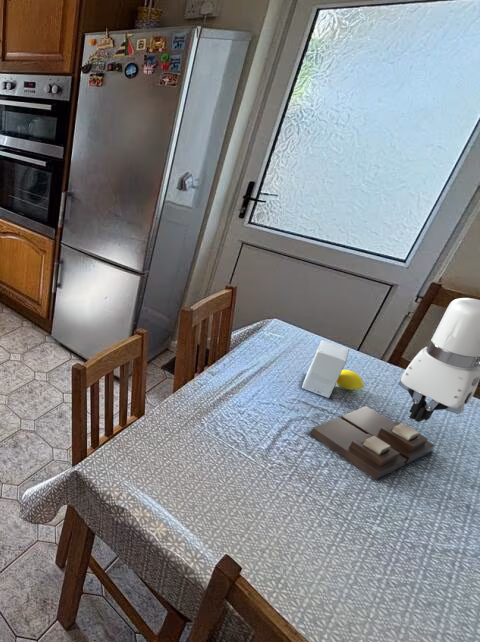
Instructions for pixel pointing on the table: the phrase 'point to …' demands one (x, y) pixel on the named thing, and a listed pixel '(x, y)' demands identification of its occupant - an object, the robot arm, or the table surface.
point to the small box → (325, 368)
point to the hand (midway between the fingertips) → (417, 418)
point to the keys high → (357, 448)
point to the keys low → (388, 433)
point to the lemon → (350, 380)
